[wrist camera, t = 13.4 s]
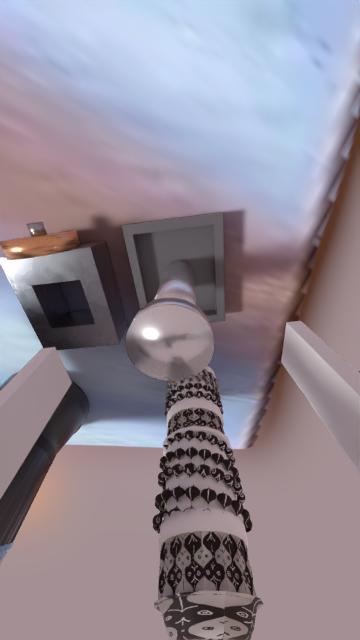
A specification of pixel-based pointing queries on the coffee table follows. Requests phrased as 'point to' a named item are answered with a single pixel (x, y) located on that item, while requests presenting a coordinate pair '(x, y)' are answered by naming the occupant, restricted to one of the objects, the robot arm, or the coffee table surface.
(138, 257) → the tray
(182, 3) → the coffee table surface
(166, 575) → the decorative candle
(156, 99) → the coffee table surface
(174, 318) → the lock pin
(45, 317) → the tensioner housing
